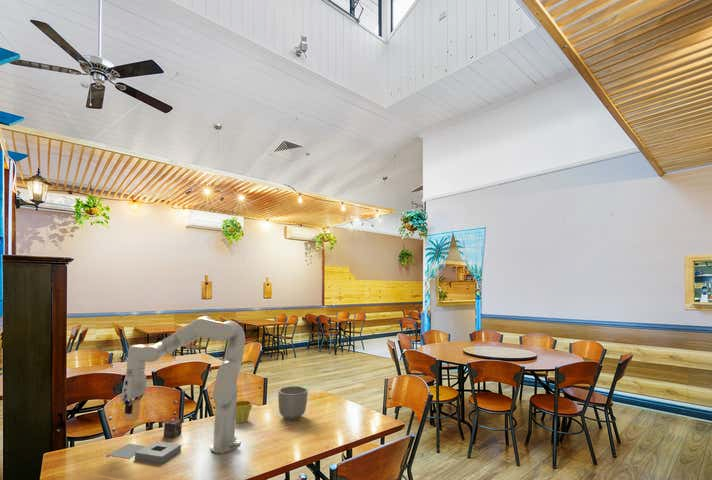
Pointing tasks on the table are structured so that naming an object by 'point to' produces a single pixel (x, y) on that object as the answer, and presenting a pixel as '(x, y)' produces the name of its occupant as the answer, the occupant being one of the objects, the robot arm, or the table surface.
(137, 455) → the socket block
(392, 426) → the table surface
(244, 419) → the plant pot
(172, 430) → the box
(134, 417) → the plug
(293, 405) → the planter
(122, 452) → the mat
